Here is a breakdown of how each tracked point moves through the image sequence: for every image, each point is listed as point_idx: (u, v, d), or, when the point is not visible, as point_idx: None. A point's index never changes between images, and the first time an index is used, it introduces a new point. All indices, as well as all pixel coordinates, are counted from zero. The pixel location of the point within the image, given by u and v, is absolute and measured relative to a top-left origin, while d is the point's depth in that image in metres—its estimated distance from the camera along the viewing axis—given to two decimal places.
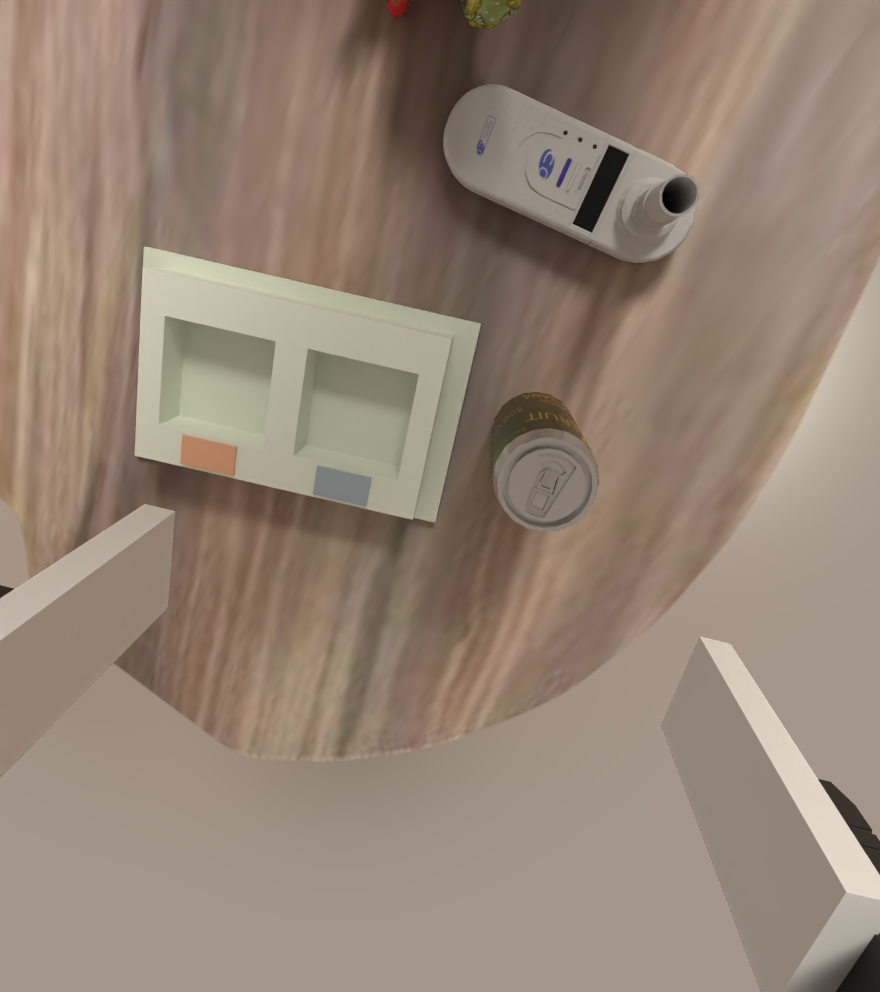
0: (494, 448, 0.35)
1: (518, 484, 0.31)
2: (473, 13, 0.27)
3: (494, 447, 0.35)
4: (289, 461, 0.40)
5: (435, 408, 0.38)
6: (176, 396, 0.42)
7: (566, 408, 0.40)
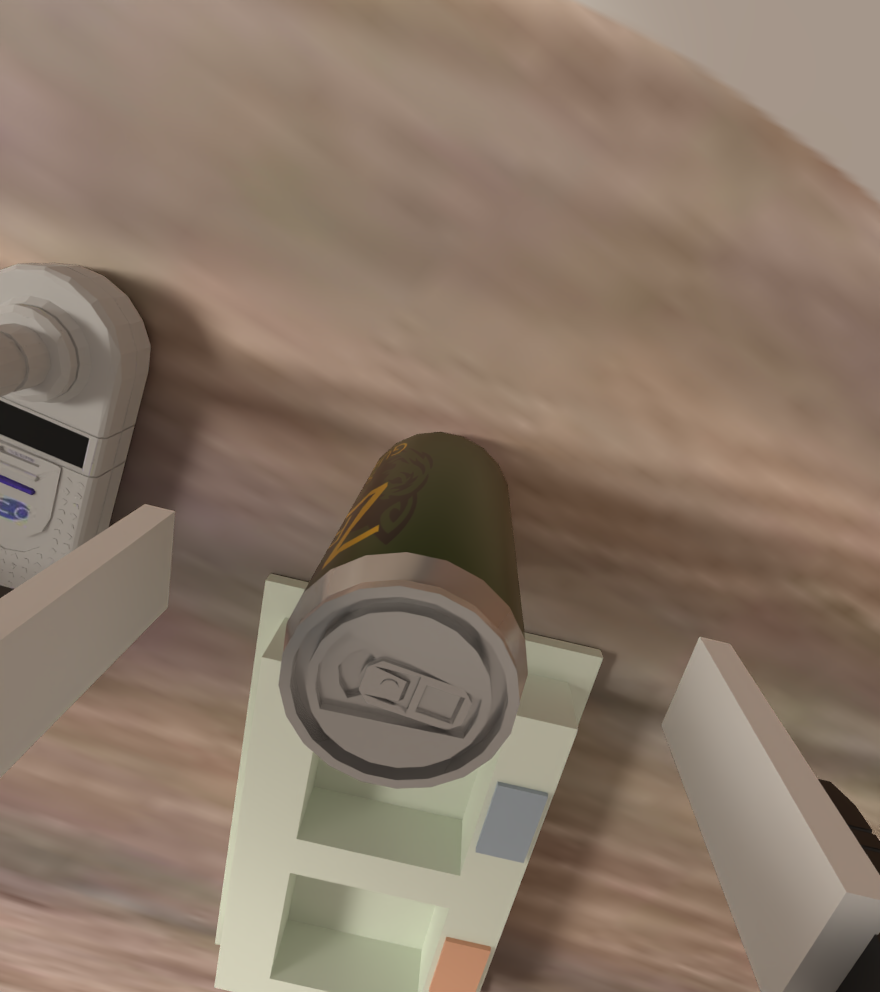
0: None
1: (396, 748, 0.13)
2: None
3: None
4: (469, 880, 0.26)
5: None
6: (391, 955, 0.31)
7: (389, 450, 0.22)
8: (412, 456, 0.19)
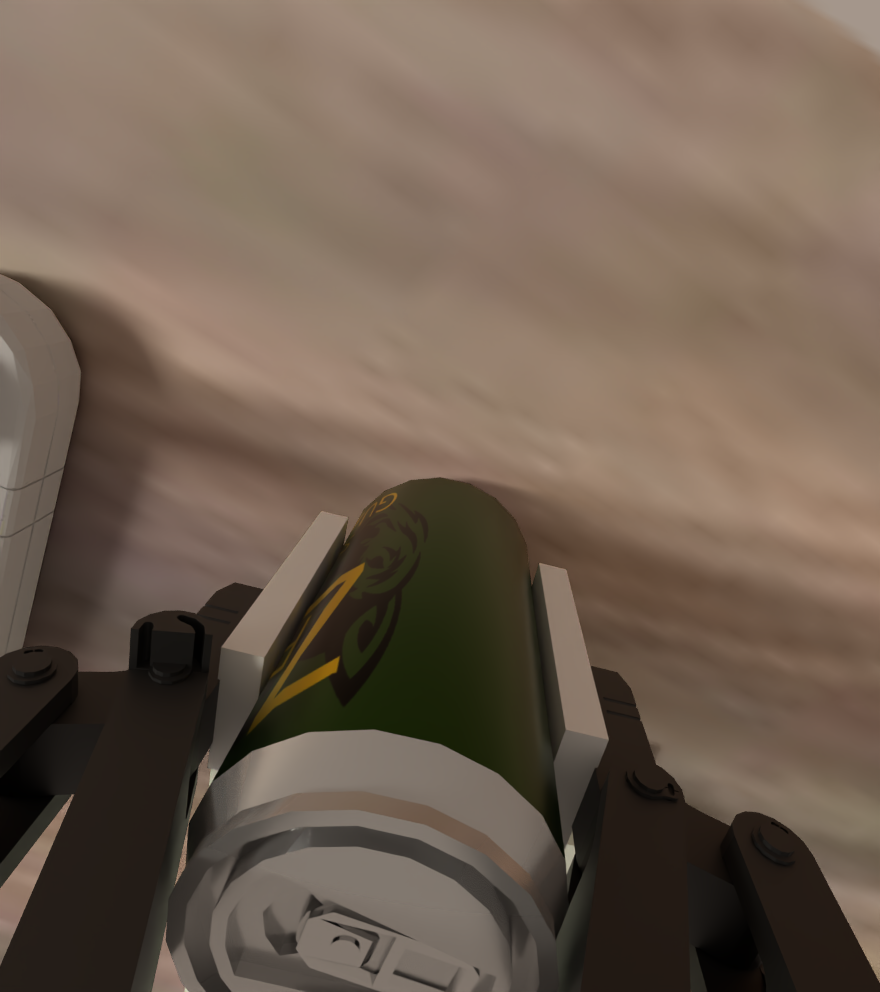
0: None
1: None
2: None
3: None
4: None
5: None
6: None
7: (375, 500, 0.17)
8: (401, 518, 0.15)
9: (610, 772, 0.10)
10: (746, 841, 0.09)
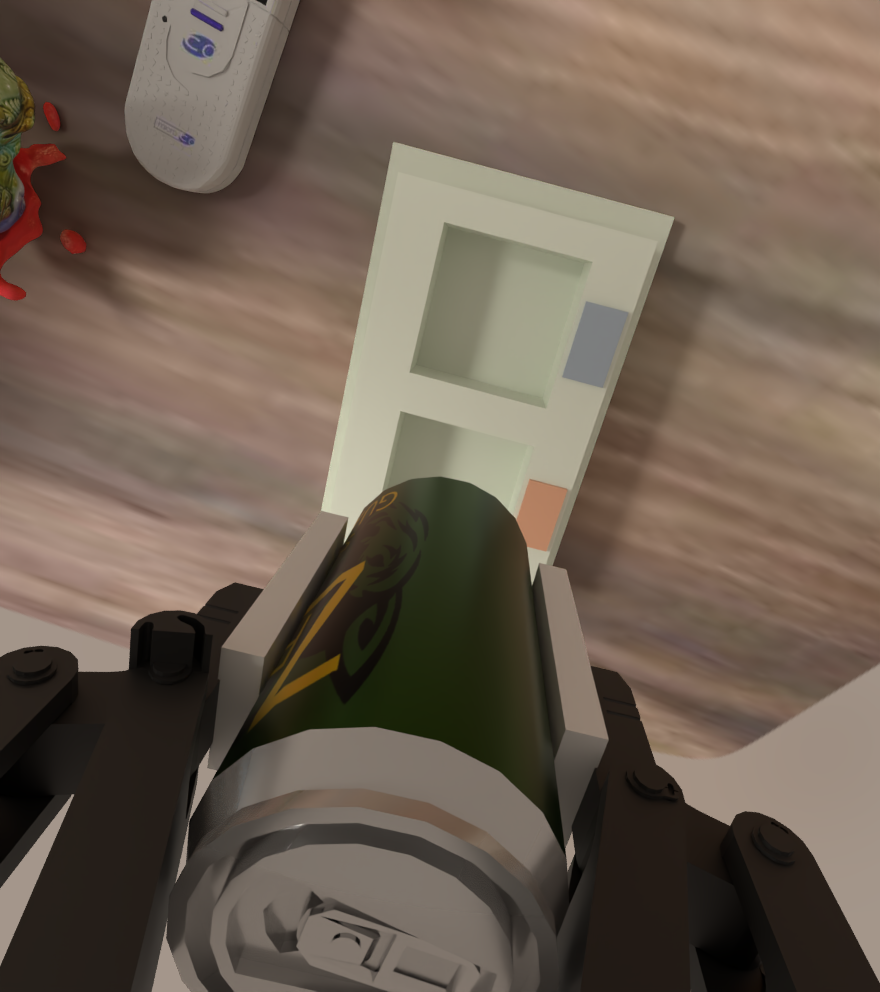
0: None
1: None
2: (2, 108, 0.23)
3: None
4: (553, 414, 0.30)
5: (491, 198, 0.28)
6: None
7: (376, 499, 0.17)
8: (402, 516, 0.15)
9: (610, 772, 0.10)
10: (746, 841, 0.09)
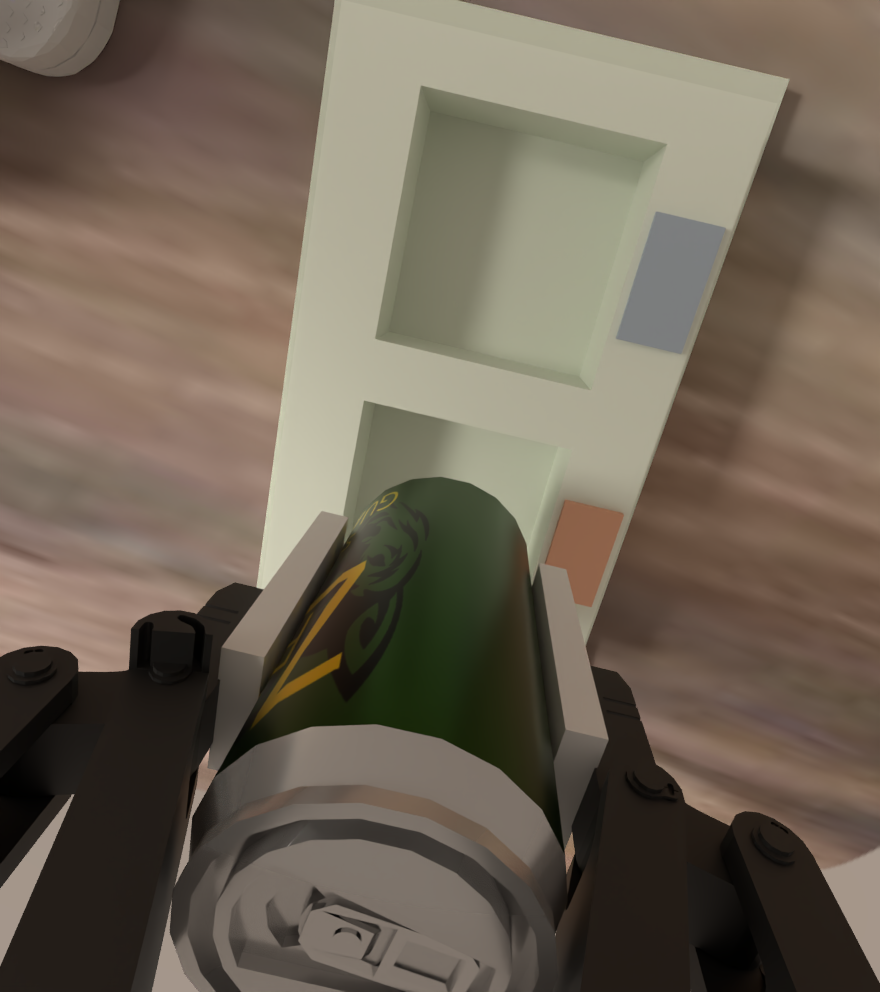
0: None
1: None
2: None
3: None
4: (602, 398, 0.19)
5: (498, 40, 0.17)
6: None
7: (376, 499, 0.17)
8: (403, 516, 0.15)
9: (610, 772, 0.10)
10: (746, 841, 0.09)
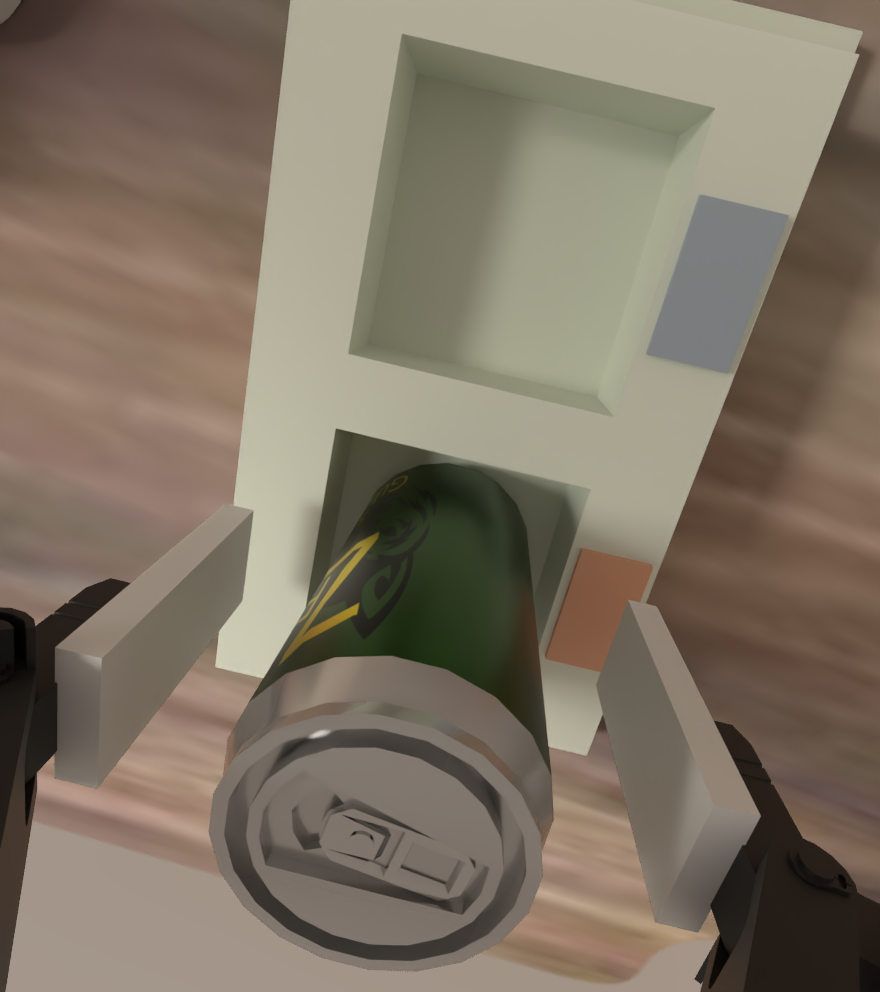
0: None
1: (370, 921, 0.09)
2: None
3: None
4: (628, 427, 0.16)
5: None
6: None
7: (387, 483, 0.19)
8: (412, 496, 0.16)
9: (769, 848, 0.09)
10: None
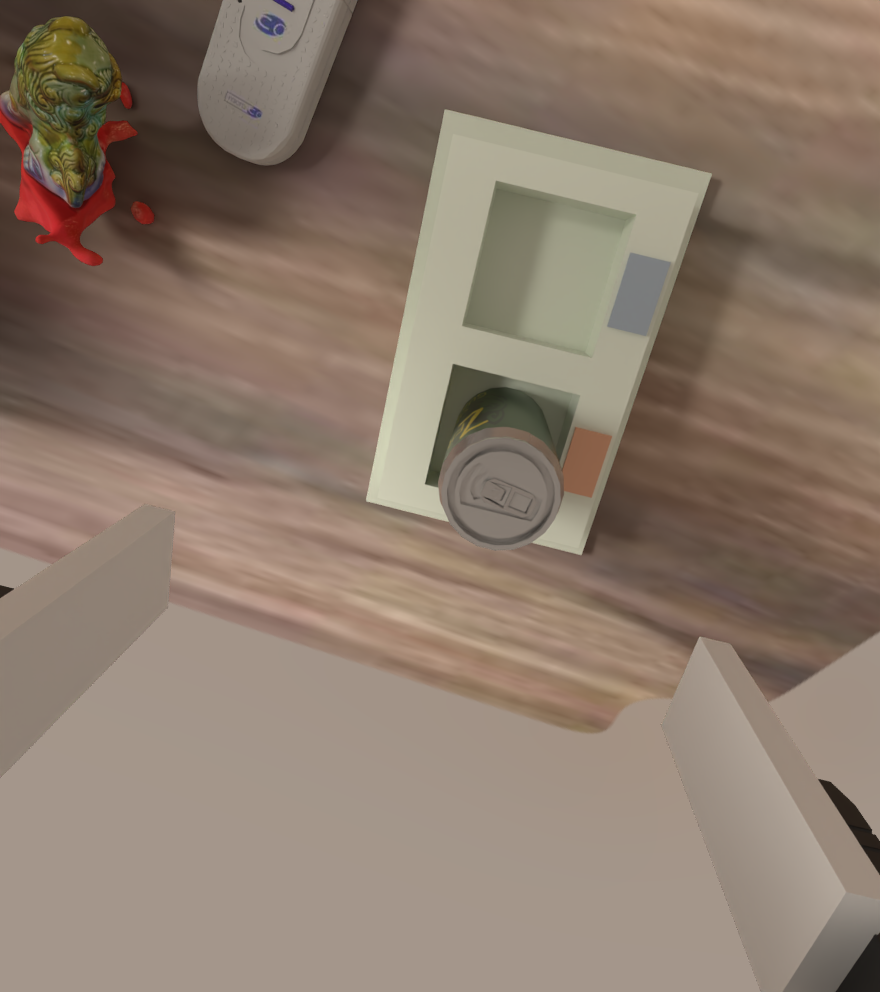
0: None
1: (497, 527, 0.26)
2: (97, 78, 0.26)
3: None
4: (599, 363, 0.32)
5: (540, 157, 0.29)
6: None
7: (473, 397, 0.35)
8: (493, 396, 0.32)
9: None
10: None
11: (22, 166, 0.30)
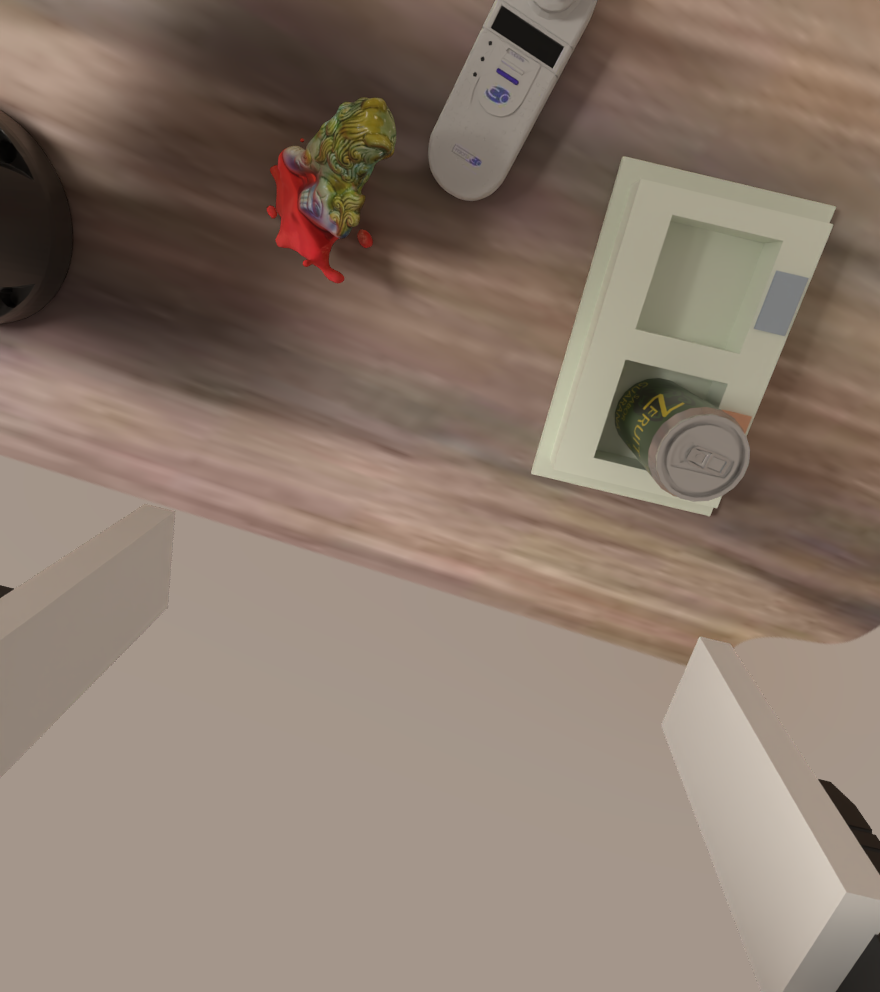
0: None
1: (697, 483, 0.34)
2: (391, 143, 0.34)
3: None
4: (745, 357, 0.40)
5: (710, 196, 0.37)
6: None
7: (633, 386, 0.43)
8: (660, 385, 0.40)
9: None
10: None
11: (295, 205, 0.38)
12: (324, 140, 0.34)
